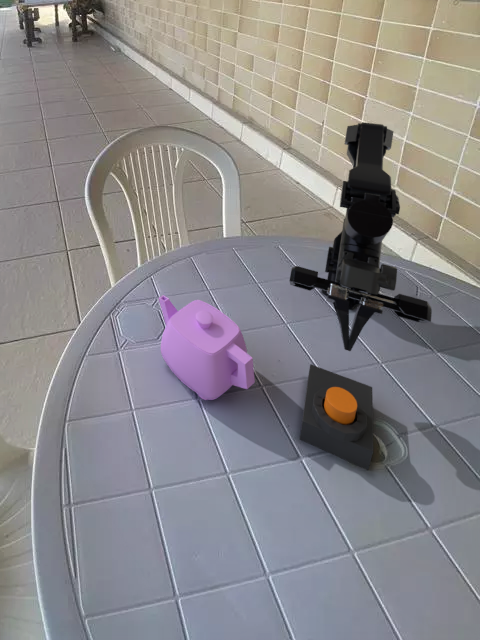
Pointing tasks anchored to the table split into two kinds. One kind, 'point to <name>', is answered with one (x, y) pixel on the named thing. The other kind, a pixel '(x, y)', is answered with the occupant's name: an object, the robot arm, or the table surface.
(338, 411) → the round orange button
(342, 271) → the robot arm
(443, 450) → the table surface
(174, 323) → the teapot
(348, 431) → the button base
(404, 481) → the table surface
